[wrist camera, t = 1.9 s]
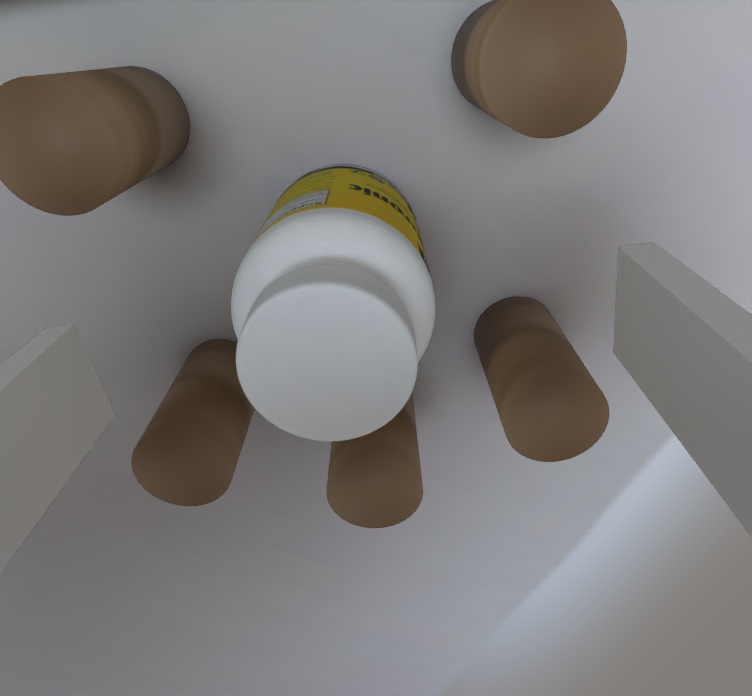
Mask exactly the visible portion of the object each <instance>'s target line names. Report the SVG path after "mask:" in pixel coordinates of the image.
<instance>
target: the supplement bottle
mask: <svg viewBox="0 0 752 696" xmlns="http://www.w3.org/2000/svg"><path fill="white" fill-rule="evenodd" d="M435 313H436V306H435V295H434V289H433V283H432V277H431V274H430V271H429V268H428V265H427V261H426V257H425V254H424V250H423V246H422V242H421V238H420V234H419V229H418V226H417V223H416V220H415V217H414V214H413V212H412V210H411V208H410V206H409V204H408V202H407V200H406V199H405V197H404V196H403V194H402V193H401V192H400V191H399V190H398V189H397V187H396V186H394V185H393V184H392V183H391V182H390V181H389V180H387V179H386V178H384V177H383V176H381V175H380V174H378V173H376V172H373V171H371V170H369V169H366V168H363V167H359V166H353V165H332V166H327V167H323V168H319V169H316V170H314V171H311V172H309V173H307V174H305V175H304V176H302V177H301V178H299V179H298V180H297V181H295V182H294V183H293V184H292V185H291V186H290V187H289V188H288V189H287V190H286V191H285V192H284V193H283V195H282V196H281V197H280V198H279V200H278V201H277V203H276V205H275V206H274V208H273V210H272V211H271V213H270V215H269V216H268V218H267V220H266V221H265V223H264V225H263V226H262V228H261V230H260V231H259V233H258V234H257V236H256V238H255V239H254V241H253V243H252V244H251V246H250V247H249V249H248V251H247V252H246V254H245V256H244V258H243V260H242V262H241V264H240V266H239V269H238V271H237V274H236V277H235V280H234V283H233V289H232V295H231V316H232V323H233V327H234V331H235V334H236V337H237V339H238V342H237V348H236V369H237V375H238V378H239V382H240V384H241V387H242V389H243V391H244V393H245V395H246V397H247V398H248V400H249V401H250V403H251V404H252V405H253V406H254V408H255V409H256V410H257V411H258V412H259V413H260V414H261V415H262V416H263V417H264V418H265V419H267V420H268V421H269V422H271V423H272V424H273V425H275V426H276V427H278V428H280V429H282V430H284V431H286V432H288V433H291V434H293V435H296V436H299V437H303V438H306V439H311V440H318V441H343V440H349V439H353V438H358V437H361V436H364V435H367V434H369V433H371V432H373V431H375V430H377V429H379V428H380V427H382V426H384V425H385V424H387V423H388V422H389V421H390V420H391V419H393V418H394V417H395V416H396V415H397V414H398V413H399V412H400V410H401V409H402V408H403V407H404V405H405V404H406V402H407V401H408V399H409V397H410V395H411V393H412V390H413V388H414V385H415V382H416V378H417V372H418V362H419V360H420V359H421V357H422V356H423V354H424V352H425V351H426V349H427V346H428V344H429V341H430V339H431V336H432V333H433V328H434V323H435Z"/></svg>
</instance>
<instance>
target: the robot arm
mask: <svg viewBox="0 0 752 696" xmlns="http://www.w3.org/2000/svg"><path fill="white" fill-rule="evenodd" d="M613 352H614V354H615V355H616V356H617V358H618V359H619V360H620V362H621V363H622V364H623V366H624V367H625V368H626V370H627V371H628V372H629V374H630V375H631V376H632V378H633V379H634V380H635V382H636V383H637V384H638V386H639V387H640V388H641V390H642V391H643V392H644V394H645V395H646V396H647V398H648V399H649V401H650V402H651V403H652V405H653V406H654V407H655V409H656V410H657V411H658V413H659V414H660V415H661V417H662V418H663V419H664V421H665V422H666V423H667V425H668V426H669V427H670V429H671V430H672V431H673V433H674V434H675V435H676V437H677V438H678V439H679V441H680V442H681V443H682V445H683V446H684V447H685V449H686V450H687V451H688V453H689V454H690V455H691V457H692V458H693V460H694V461H695V462H696V464H697V465H698V466H699V468H700V469H701V470H702V472H703V473H704V474H705V476H706V477H707V478H708V480H709V481H710V482H711V483H712V485H713V486H714V488H715V489H716V490H717V492H718V493H719V494H720V496H721V497H722V498H723V500H724V501H725V502H726V504H727V505H728V506H729V508H730V509H731V511H732V512H733V513H734V515H735V516H736V517H737V519H738V520H739V521H740V523H741V524H742V525H743V527H744V528H745V529H746V531H747V532H748V533H749V535H750V536H751V537H752V314H750V313H749V312H748V311H746V310H745V309H743V308H742V307H741V306H739V305H738V304H737V303H735V302H734V301H733V300H731V299H730V298H728V297H727V296H726V295H724V294H723V293H722V292H720V291H719V290H718V289H716V288H715V287H714V286H712V285H711V284H709V283H708V282H707V281H705V280H704V279H703V278H701V277H700V276H699V275H697V274H696V273H695V272H693V271H692V270H690V269H689V268H688V267H686V266H685V265H684V264H682V263H681V262H680V261H678V260H677V259H675V258H674V257H673V256H671V255H670V254H669V253H667V252H666V251H665V250H663V249H662V248H661V247H659V246H658V245H656V244H655V243H654V242H649V243H642V244H634V245H627V246H620V247H618V263H617V284H616V306H615V327H614V348H613ZM114 416H115V414H114V411H113V409H112V407H111V405H110V403H109V400H108V398H107V396H106V394H105V392H104V389H103V387H102V385H101V383H100V381H99V378H98V376H97V374H96V372H95V369H94V367H93V365H92V363H91V361H90V358H89V356H88V354H87V352H86V350H85V347H84V345H83V343H82V341H81V339H80V336H79V334H78V332H77V330H76V327H75V325H74V324H71V325H64V326H57V327H50V328H45V329H43V330H42V331H41V332H40V333H39V334H37V335H36V336H35V337H34V338H33V339H31V340H30V341H29V342H28V343H27V344H26V345H24V346H23V347H22V348H21V349H20V350H18V351H17V352H16V353H15V354H14V355H12V356H11V357H10V358H9V359H8V360H6V361H5V362H4V363H3V364H2V365H1V366H0V574H1V573H2V571H3V570H4V569H5V567H6V566H7V564H8V563H9V562H10V560H11V559H12V557H13V556H14V555H15V553H16V552H17V551H18V549H19V548H20V546H21V545H22V544H23V542H24V541H25V539H26V538H27V537H28V535H29V534H30V533H31V531H32V530H33V528H34V527H35V526H36V524H37V523H38V521H39V520H40V519H41V517H42V516H43V515H44V513H45V512H46V510H47V509H48V508H49V506H50V505H51V503H52V502H53V501H54V499H55V498H56V497H57V495H58V494H59V492H60V491H61V490H62V488H63V487H64V485H65V484H66V483H67V481H68V480H69V479H70V477H71V476H72V474H73V473H74V472H75V470H76V469H77V467H78V466H79V465H80V463H81V462H82V461H83V459H84V458H85V456H86V455H87V454H88V452H89V451H90V449H91V448H92V447H93V445H94V444H95V443H96V441H97V440H98V438H99V437H100V436H101V434H102V433H103V431H104V430H105V429H106V427H107V426H108V425H109V423H110V422H111V420H112V419H113V418H114Z"/></svg>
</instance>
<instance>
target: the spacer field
mask: <svg viewBox="0 0 752 696" xmlns="http://www.w3.org/2000/svg"><path fill="white" fill-rule="evenodd" d="M626 53H627V40H626V33H625V28H624V24H623V21H622V19H621V16H620V14H619V12H618V10H617V8H616V7H615V5H614V4H613V2H612V1H611V0H494V1H491V2H489V3H486V4H484V5H482V6H481V7H479V8H478V9H477V10H475V11H474V12H473V13H472V14H471V15H470V16H469V17H468V18H467V19H466V20H465V22H464V23H463V24H462V26H461V28H460V29H459V31H458V34H457V36H456V38H455V41H454V45H453V49H452V57H451V64H452V73H453V76H454V80H455V82H456V85H457V87H458V89H459V90H460V92H461V93H462V95H463V96H464V97H465V98H466V99H467V100H468V101H469V102H470V103H472V104H473V105H475V106H476V107H478V108H479V109H481V110H483V111H484V112H486V113H488V114H489V115H491V116H492V117H494V118H496V119H497V120H499V121H500V122H502V123H504V124H505V125H507V126H508V127H510V128H512V129H513V130H515V131H517V132H519V133H521V134H524V135H527V136H530V137H535V138H555V137H559V136H564V135H566V134H569V133H572V132H574V131H576V130H578V129H580V128H582V127H583V126H585V125H586V124H588V123H589V122H590V121H591V120H593V119H594V118H595V117H596V116H597V115H598V114H599V113H600V112H601V111H602V110H603V109H604V108H605V106H606V105H607V104H608V102H609V101H610V100H611V98H612V96H613V95H614V93H615V91H616V89H617V87H618V85H619V83H620V80H621V77H622V74H623V71H624V67H625V62H626ZM188 137H189V118H188V113H187V110H186V107H185V105H184V102H183V100H182V98H181V97H180V95H179V94H178V92H177V91H176V90H175V88H174V87H173V86H172V85H171V84H170V83H169V82H168V81H167V80H166V79H164V78H163V77H162V76H160V75H158V74H157V73H155V72H153V71H151V70H148V69H145V68H141V67H135V66H127V67H117V68H107V69H97V70H87V71H77V72H67V73H57V74H47V75H37V76H27V77H20V78H16V79H12V80H10V81H8V82H6V83H4V84H3V85H1V86H0V180H1V181H2V182H3V183H4V185H5V186H6V187H7V188H8V189H9V190H10V191H11V192H12V193H14V194H15V195H16V196H17V197H19V198H20V199H21V200H23V201H24V202H26V203H27V204H29V205H31V206H33V207H35V208H37V209H39V210H42V211H44V212H48V213H51V214H56V215H65V216H72V215H80V214H84V213H87V212H89V211H92V210H94V209H95V208H97V207H99V206H100V205H102V204H104V203H105V202H107V201H109V200H110V199H112V198H114V197H115V196H117V195H119V194H120V193H122V192H124V191H126V190H127V189H129V188H131V187H132V186H134V185H136V184H137V183H139V182H141V181H142V180H144V179H146V178H147V177H149V176H151V175H152V174H154V173H156V172H157V171H159V170H161V169H162V168H164V167H166V166H167V165H169V164H171V163H172V162H174V161H175V160H176V159H177V158H178V157H179V156H180V155H181V153H182V152H183V150H184V149H185V146H186V144H187V141H188ZM474 341H475V345H476V348H477V351H478V354H479V357H480V360H481V363H482V366H483V369H484V372H485V375H486V378H487V381H488V384H489V387H490V390H491V393H492V395H493V398H494V401H495V404H496V407H497V410H498V413H499V416H500V419H501V422H502V425H503V428H504V431H505V434H506V437H507V439H508V441H509V443H510V444H511V446H512V447H513V448H514V449H515V450H516V451H517V452H518V453H520V454H521V455H523V456H525V457H527V458H530V459H532V460H536V461H543V462H555V461H562V460H566V459H570V458H572V457H575V456H577V455H579V454H581V453H583V452H585V451H586V450H588V449H589V448H590V447H592V446H593V445H594V444H595V443H596V442H597V441H598V440H599V438H600V437H601V436H602V434H603V433H604V431H605V429H606V427H607V424H608V420H609V406H608V403H607V400H606V398H605V396H604V395H603V393H602V391H601V390H600V388H599V387H598V385H597V384H596V382H595V381H594V379H593V378H592V376H591V375H590V373H589V372H588V370H587V369H586V367H585V365H584V364H583V362H582V361H581V359H580V358H579V356H578V355H577V353H576V352H575V350H574V349H573V347H572V346H571V344H570V343H569V341H568V340H567V338H566V336H565V335H564V333H563V332H562V330H561V329H560V327H559V326H558V324H557V323H556V321H555V320H554V318H553V317H552V315H551V314H550V312H549V310H548V309H547V308H546V307H545V306H544V305H543V304H541V303H540V302H538V301H536V300H534V299H531V298H527V297H511V298H506V299H503V300H501V301H498V302H496V303H495V304H493V305H492V306H490V307H489V308H488V309H487V310H486V311H485V312H484V313H483V314H482V315H481V317H480V318H479V320H478V322H477V324H476V327H475V332H474ZM236 348H237V343H236V342H233V341H229V340H212V341H208V342H205V343H202V344H200V345H199V346H197V347H196V348H195V349H194V350H193V351H192V352H191V354H190V355H189V357H188V359H187V360H186V362H185V364H184V365H183V367H182V369H181V370H180V372H179V374H178V376H177V377H176V379H175V381H174V382H173V384H172V386H171V388H170V389H169V391H168V393H167V394H166V396H165V398H164V399H163V401H162V403H161V405H160V406H159V408H158V410H157V411H156V413H155V415H154V417H153V418H152V420H151V422H150V423H149V425H148V427H147V428H146V430H145V432H144V434H143V435H142V437H141V439H140V440H139V442H138V444H137V446H136V447H135V449H134V451H133V454H132V469H133V472H134V475H135V477H136V478H137V480H138V482H139V483H140V484H141V485H142V486H143V488H144V489H146V490H147V491H148V492H149V493H150V494H152V495H153V496H155V497H157V498H159V499H161V500H163V501H165V502H168V503H171V504H175V505H181V506H198V505H203V504H207V503H210V502H212V501H214V500H216V499H217V498H219V497H220V496H221V495H223V494H224V492H225V491H226V490H227V489H228V487H229V485H230V482H231V479H232V476H233V473H234V470H235V467H236V464H237V461H238V458H239V455H240V451H241V448H242V445H243V442H244V439H245V436H246V433H247V430H248V427H249V424H250V421H251V417H252V414H253V411H254V406H253V405H252V404H251V403H250V401H249V400H248V398H247V397H246V395H245V393H244V391H243V389H242V387H241V384H240V382H239V378H238V375H237V369H236ZM422 496H423V487H422V478H421V469H420V460H419V451H418V442H417V433H416V424H415V415H414V406H413V397H412V393H411V395H410V397H409V399H408V401H407V402H406V404H405V405H404V407H403V408H402V409H401V410H400V412H399V413H398V414H397V415H396V416H395V417H394V418H393V419H391V420H390V421H389V422H388V423H387V424H385V425H384V426H382V427H380V428H379V429H377V430H375V431H373V432H371V433H369V434H367V435H364V436H361V437H358V438H353V439H349V440H343V441H332V444H331V453H330V463H329V473H328V483H327V498H328V501H329V504H330V506H331V508H332V509H333V510H334V512H335V513H336V514H337V515H338V516H340V517H341V518H342V519H344V520H345V521H347V522H349V523H351V524H354V525H357V526H361V527H366V528H383V527H389V526H392V525H395V524H398V523H400V522H402V521H404V520H406V519H407V518H409V517H410V516H411V515H412V514H413V513H414V512H415V511H416V510H417V508H418V507H419V505H420V503H421V500H422Z"/></svg>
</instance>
